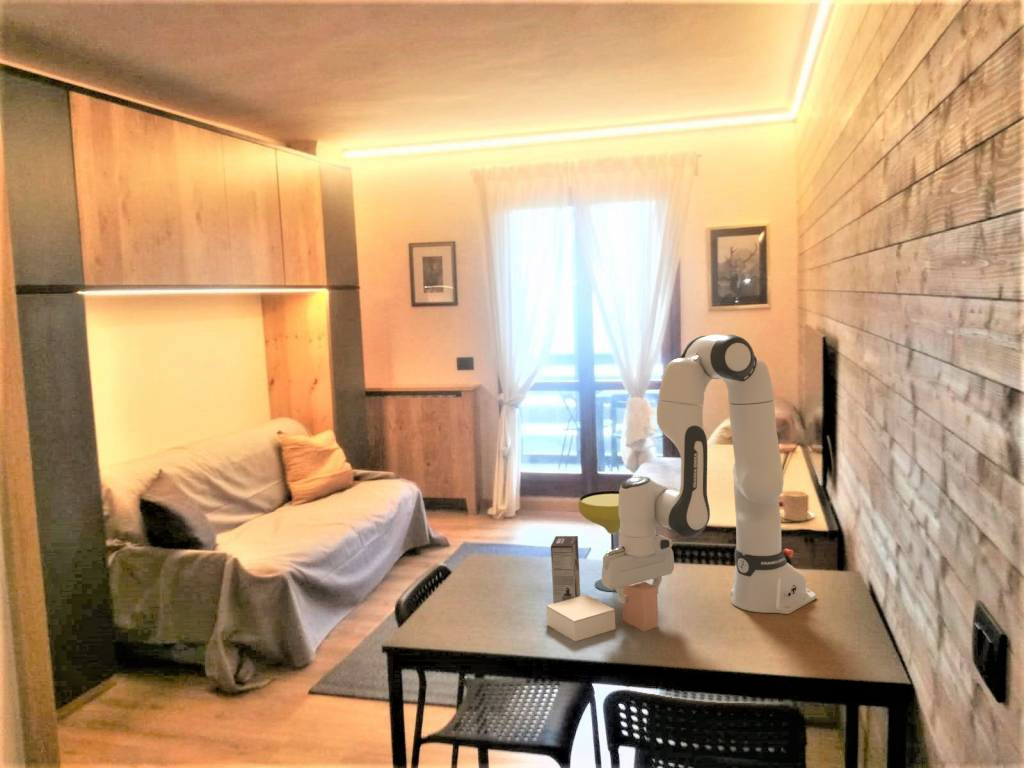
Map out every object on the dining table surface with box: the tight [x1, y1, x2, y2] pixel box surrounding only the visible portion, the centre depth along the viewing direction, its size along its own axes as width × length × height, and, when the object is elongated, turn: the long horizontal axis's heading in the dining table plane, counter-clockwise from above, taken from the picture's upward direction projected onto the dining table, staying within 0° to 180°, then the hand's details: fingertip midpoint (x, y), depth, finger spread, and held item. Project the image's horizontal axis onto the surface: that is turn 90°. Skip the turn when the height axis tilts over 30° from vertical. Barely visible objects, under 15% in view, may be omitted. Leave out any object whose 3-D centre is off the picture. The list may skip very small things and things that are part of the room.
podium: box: [546, 594, 616, 642], centre depth 190 cm, size 12×12×5 cm
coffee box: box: [550, 535, 581, 604], centre depth 209 cm, size 9×6×16 cm
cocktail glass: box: [578, 490, 620, 593], centre depth 217 cm, size 18×18×25 cm
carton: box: [622, 581, 659, 632], centre depth 191 cm, size 4×8×10 cm, turn 30°
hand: (638, 598), depth 190 cm, fingers open, 8 cm apart
